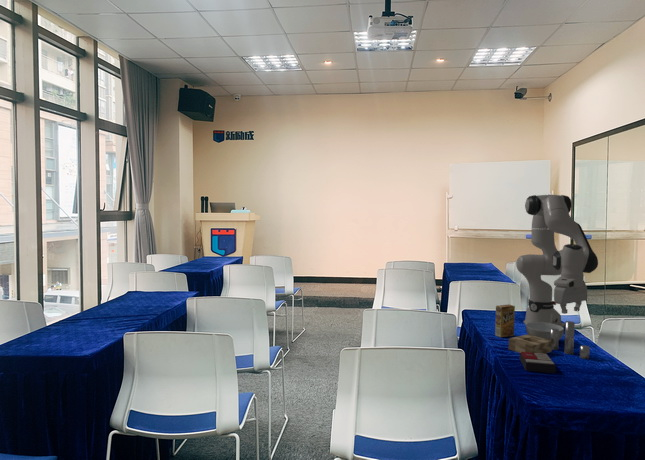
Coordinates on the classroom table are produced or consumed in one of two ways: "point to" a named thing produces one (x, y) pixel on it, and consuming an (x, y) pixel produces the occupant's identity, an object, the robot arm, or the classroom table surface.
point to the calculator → (537, 362)
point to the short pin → (584, 352)
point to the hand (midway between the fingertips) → (570, 312)
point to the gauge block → (530, 344)
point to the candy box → (505, 320)
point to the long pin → (569, 337)
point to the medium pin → (554, 338)
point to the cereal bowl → (543, 329)
